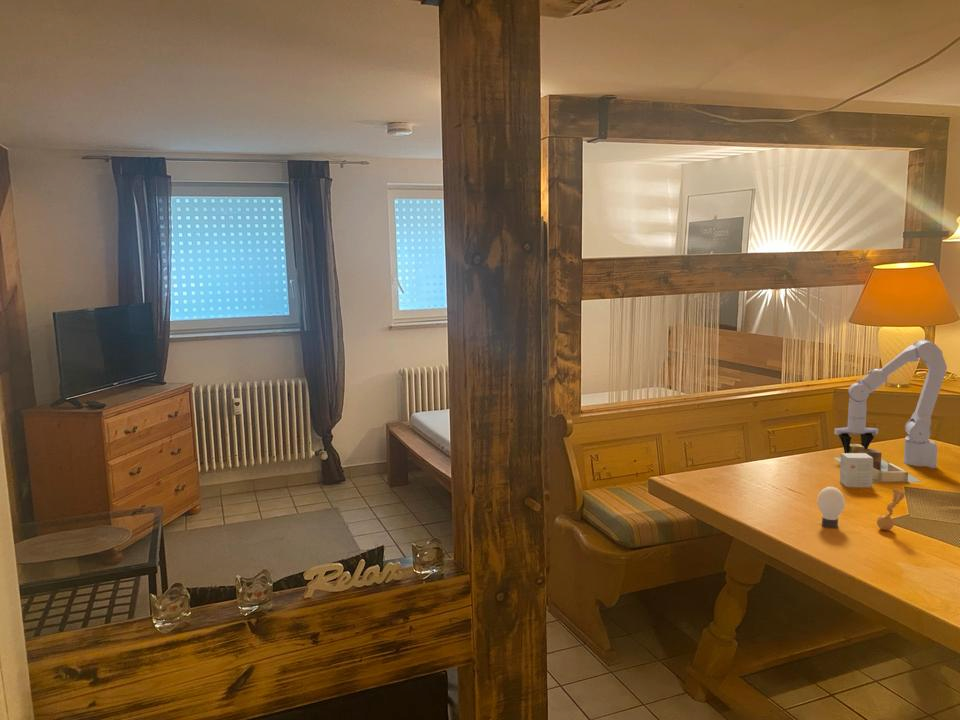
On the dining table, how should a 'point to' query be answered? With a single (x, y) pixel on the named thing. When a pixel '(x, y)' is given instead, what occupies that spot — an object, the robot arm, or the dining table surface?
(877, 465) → the walnut block with tether
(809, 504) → the dining table surface
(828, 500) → the light bulb
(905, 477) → the shelf board with lane
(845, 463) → the small box
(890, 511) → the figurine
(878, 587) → the dining table surface
